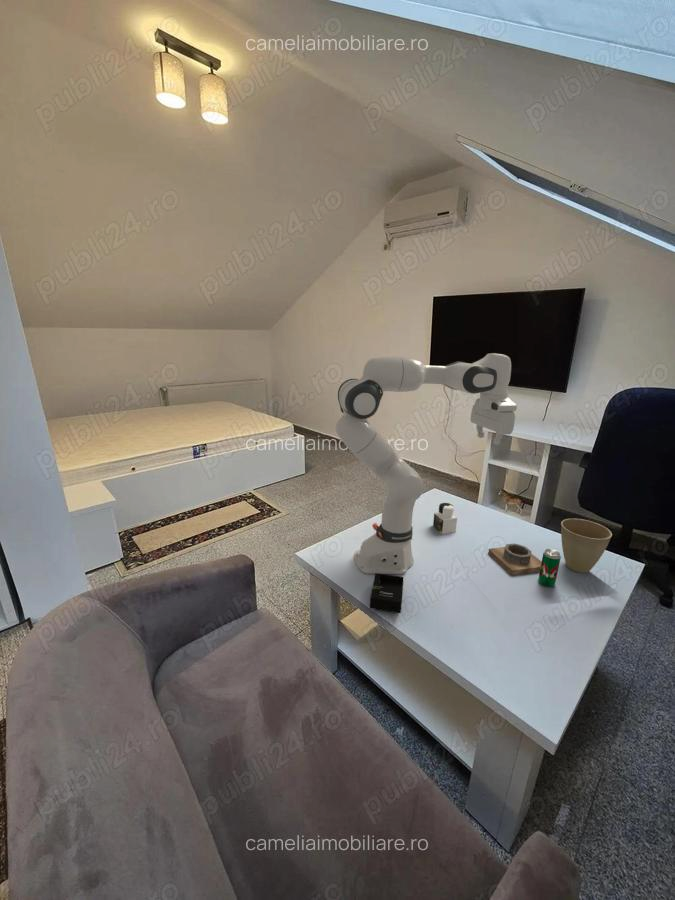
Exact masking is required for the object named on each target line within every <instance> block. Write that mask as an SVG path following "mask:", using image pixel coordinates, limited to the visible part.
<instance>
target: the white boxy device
mask: <svg viewBox="0 0 675 900" xmlns="http://www.w3.org/2000/svg"><path fill="white" fill-rule="evenodd" d="M454 510H455V507H454V505H453V504H451V503H448V502H441V503H440V504H438V511H437V512H434V514H433V522H432V526H433V528H434V529H435V530H436V531H437V532H438V533H440V534H441V535H447V534H452V533H456V532H457V531H456V530H457V523H458V517H457V516H456V515H454Z"/></svg>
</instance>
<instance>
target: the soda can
mask: <svg viewBox="0 0 675 900" xmlns="http://www.w3.org/2000/svg"><path fill="white" fill-rule="evenodd" d="M561 559H562V557H561V552H559V551H557V550H555V549H552V548H547V549H545V550H544V551H543V553H542V558H541V562H542V563H541V568H540V572H538V573H539V575H538V582H539V583H540V584H541V585H542V586H544V587H548V588H553V587H554V586H555V585H556V581H557V578H558V577H557V576H558V574H559V573H558V572H559V568H560V563H561Z"/></svg>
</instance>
